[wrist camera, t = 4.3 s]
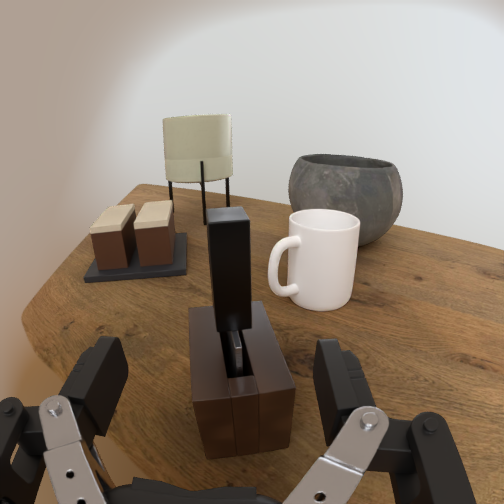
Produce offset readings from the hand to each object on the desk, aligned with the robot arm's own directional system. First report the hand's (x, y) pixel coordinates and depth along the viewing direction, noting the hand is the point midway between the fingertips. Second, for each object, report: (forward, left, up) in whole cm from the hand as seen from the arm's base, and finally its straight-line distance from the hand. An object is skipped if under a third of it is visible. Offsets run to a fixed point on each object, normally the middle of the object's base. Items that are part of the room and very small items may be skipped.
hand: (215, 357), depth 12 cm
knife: (+1, +8, -12) cm, 15 cm away
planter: (0, +64, -13) cm, 65 cm away
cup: (+12, +23, -13) cm, 29 cm away
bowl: (+25, +41, -13) cm, 49 cm away
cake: (-11, +41, -12) cm, 44 cm away
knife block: (+1, +8, -12) cm, 15 cm away
